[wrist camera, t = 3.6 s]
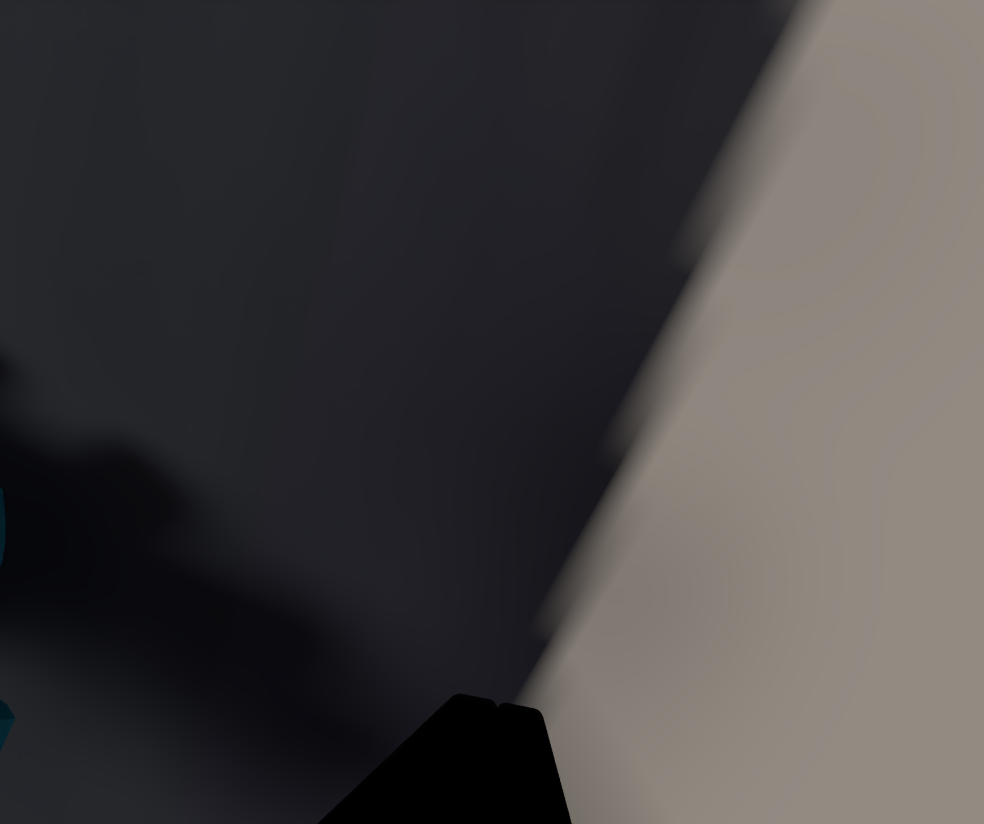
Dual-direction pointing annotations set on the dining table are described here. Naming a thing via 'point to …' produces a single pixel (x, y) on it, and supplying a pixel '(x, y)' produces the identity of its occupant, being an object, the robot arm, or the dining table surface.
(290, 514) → the dining table surface
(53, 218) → the dining table surface
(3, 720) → the gear
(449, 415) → the dining table surface
